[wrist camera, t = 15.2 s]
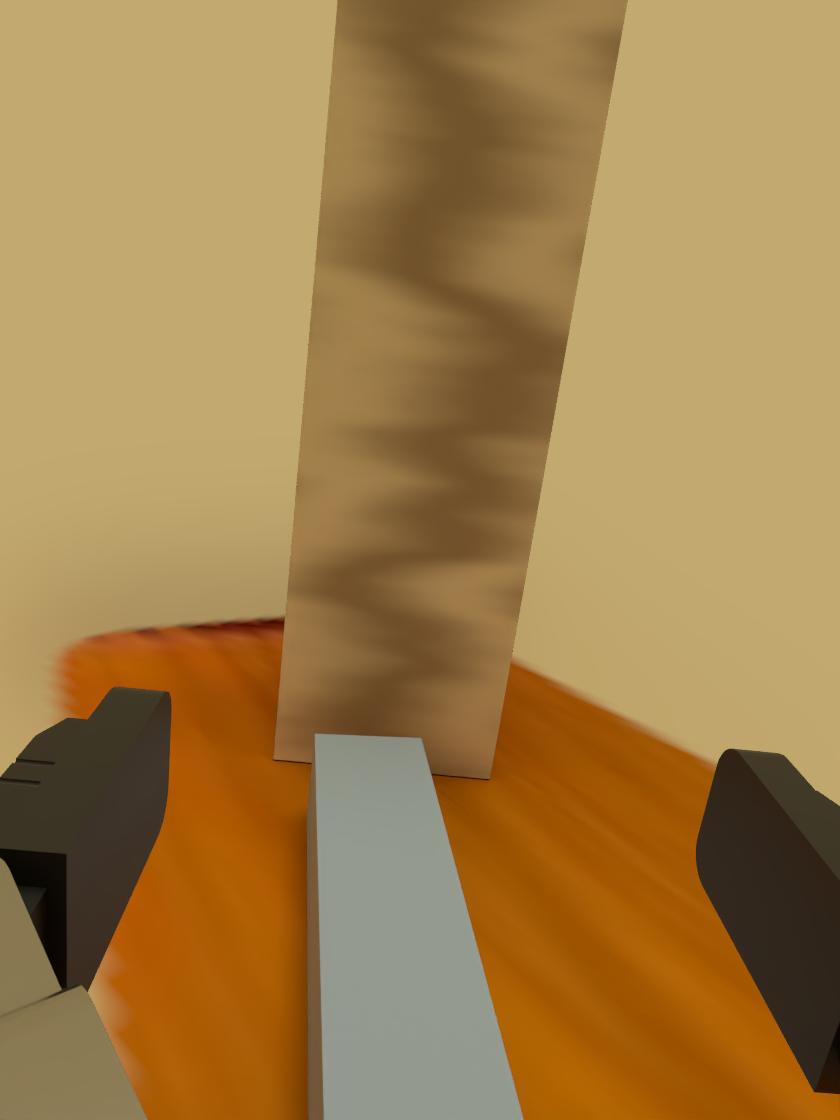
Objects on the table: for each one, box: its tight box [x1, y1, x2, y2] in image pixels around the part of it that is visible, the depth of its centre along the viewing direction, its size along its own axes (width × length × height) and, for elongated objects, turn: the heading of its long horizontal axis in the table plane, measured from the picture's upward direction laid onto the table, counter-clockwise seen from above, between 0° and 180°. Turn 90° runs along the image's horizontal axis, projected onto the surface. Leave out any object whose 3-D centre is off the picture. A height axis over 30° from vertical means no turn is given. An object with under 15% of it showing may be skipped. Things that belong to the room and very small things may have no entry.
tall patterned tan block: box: [273, 0, 628, 779], centre depth 24 cm, size 7×6×35 cm
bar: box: [307, 734, 524, 1120], centre depth 16 cm, size 3×14×3 cm, turn 8°
